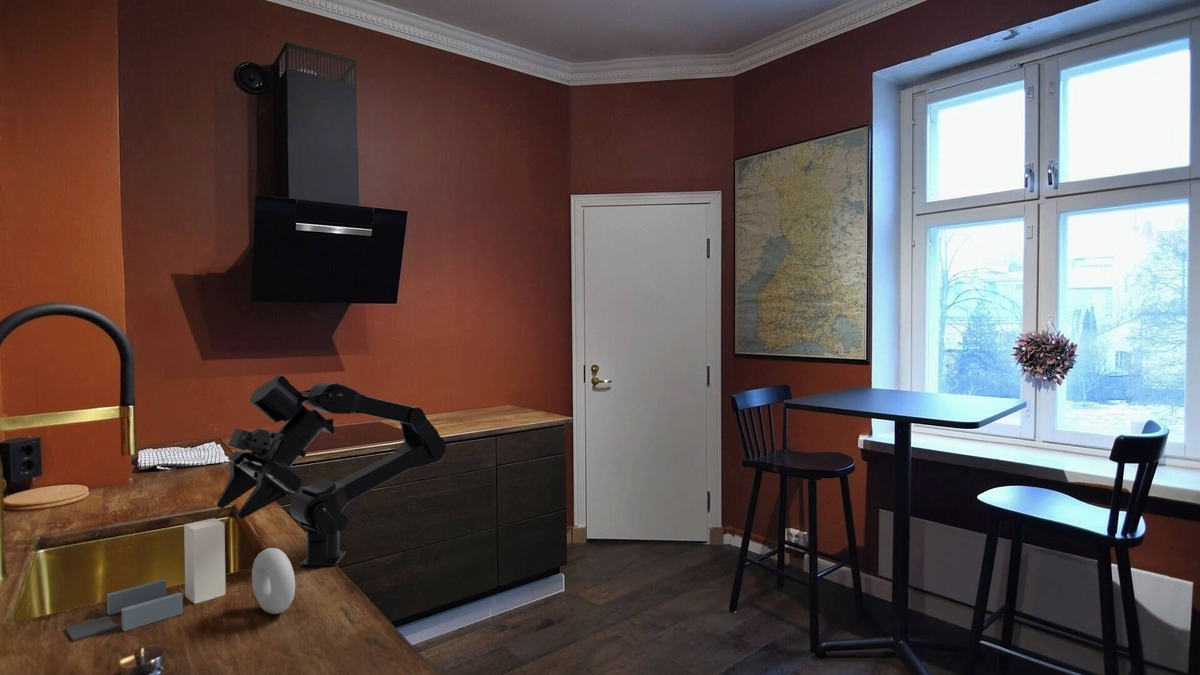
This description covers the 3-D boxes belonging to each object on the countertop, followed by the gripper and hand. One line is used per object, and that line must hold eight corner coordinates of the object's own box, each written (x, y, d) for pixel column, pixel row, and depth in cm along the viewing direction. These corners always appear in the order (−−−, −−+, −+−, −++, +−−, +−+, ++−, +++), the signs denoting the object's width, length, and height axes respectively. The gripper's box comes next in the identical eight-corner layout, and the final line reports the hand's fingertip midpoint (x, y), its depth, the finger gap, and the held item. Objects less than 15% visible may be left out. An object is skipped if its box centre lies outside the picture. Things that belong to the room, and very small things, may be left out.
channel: (163, 596, 103) (163, 578, 103) (182, 613, 97) (182, 594, 97) (107, 612, 98) (107, 593, 97) (123, 631, 91) (123, 611, 91)
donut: (248, 607, 99) (247, 544, 99) (270, 600, 102) (269, 539, 102) (277, 625, 93) (276, 559, 93) (300, 617, 96) (299, 552, 95)
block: (215, 587, 107) (214, 517, 107) (225, 594, 104) (224, 523, 104) (185, 596, 103) (184, 524, 103) (194, 603, 101) (193, 529, 100)
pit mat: (107, 617, 96) (107, 615, 96) (116, 628, 92) (116, 626, 92) (65, 629, 92) (65, 627, 92) (73, 641, 89) (73, 639, 89)
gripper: (239, 406, 116) (171, 476, 108) (283, 415, 104) (210, 495, 96) (283, 442, 122) (222, 511, 114) (330, 454, 110) (265, 532, 102)
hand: (228, 511), depth 106 cm, fingers open, 9 cm apart
